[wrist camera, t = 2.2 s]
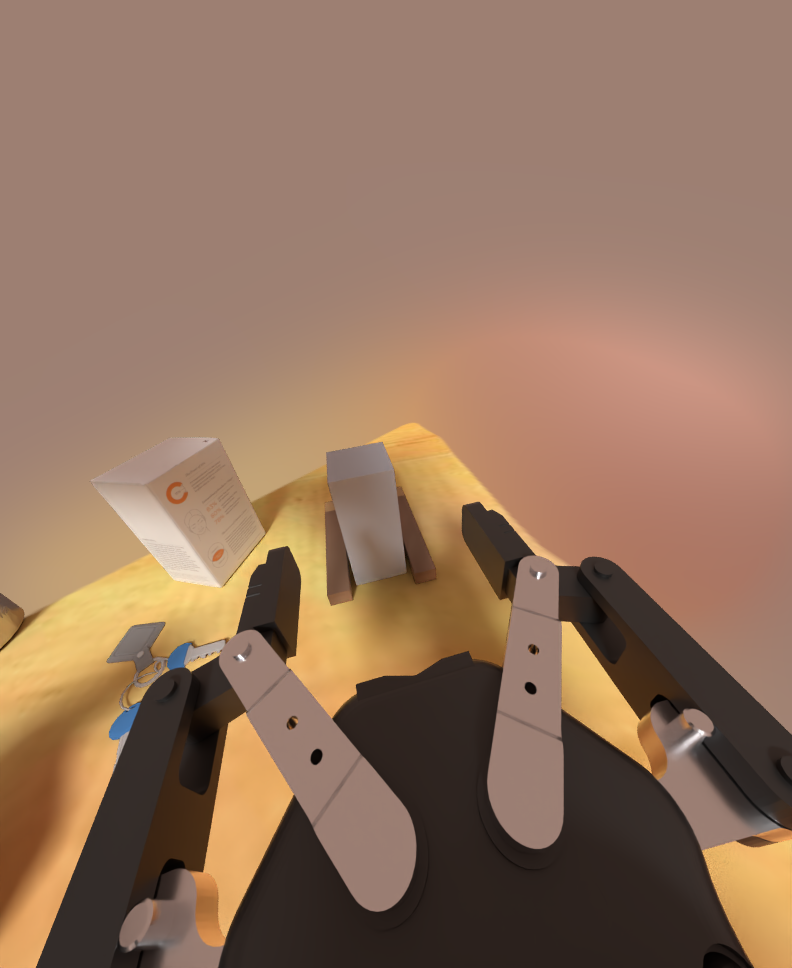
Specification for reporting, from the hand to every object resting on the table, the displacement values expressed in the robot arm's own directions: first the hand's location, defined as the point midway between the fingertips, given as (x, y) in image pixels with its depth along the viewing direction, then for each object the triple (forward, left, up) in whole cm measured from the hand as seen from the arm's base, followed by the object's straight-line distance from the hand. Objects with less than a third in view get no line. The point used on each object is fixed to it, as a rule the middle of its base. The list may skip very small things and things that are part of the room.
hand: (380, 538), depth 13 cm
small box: (-17, +17, -14) cm, 28 cm away
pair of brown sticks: (0, +14, -14) cm, 20 cm away
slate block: (0, +11, -14) cm, 18 cm away
